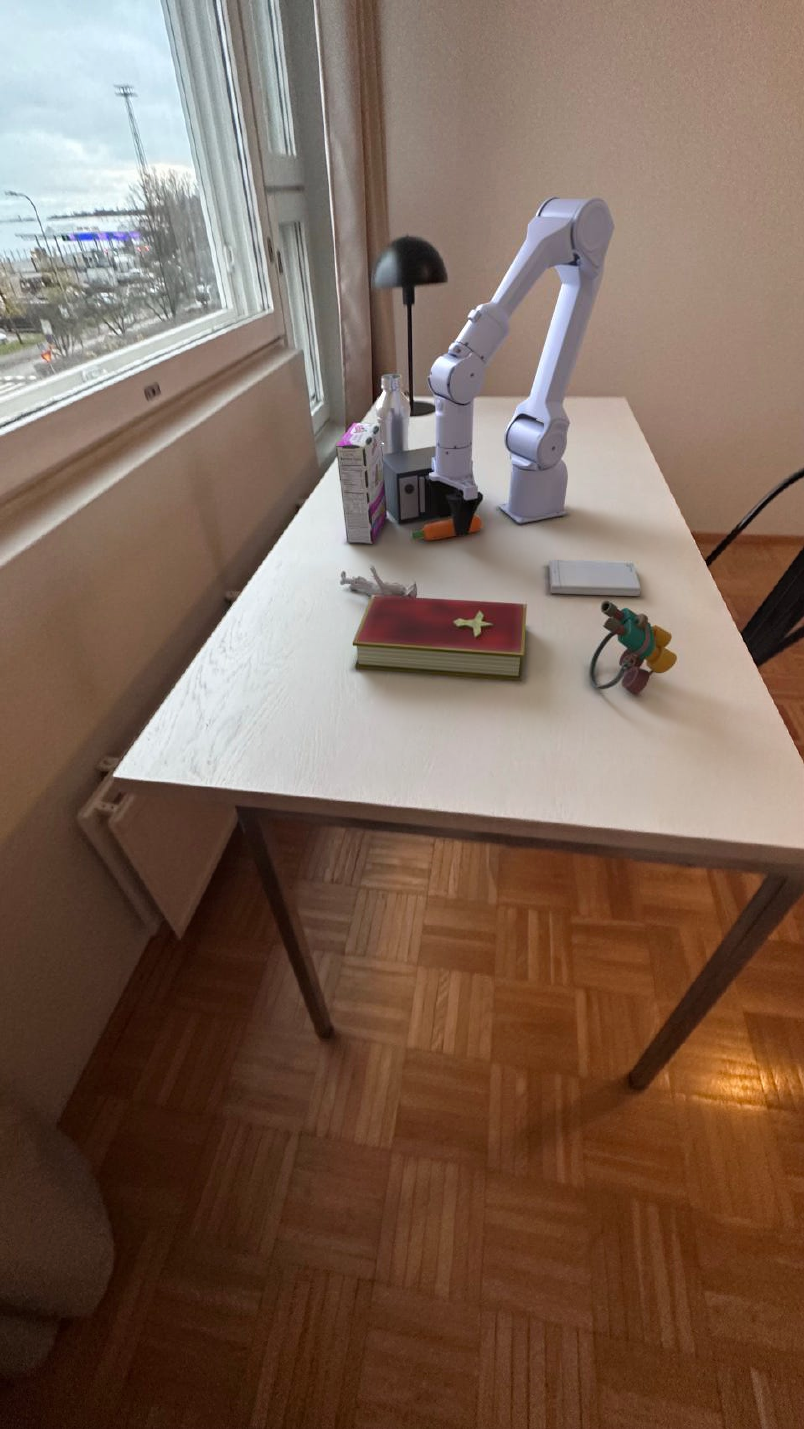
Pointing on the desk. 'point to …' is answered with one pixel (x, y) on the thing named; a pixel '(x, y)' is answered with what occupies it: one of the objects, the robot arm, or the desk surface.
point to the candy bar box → (362, 482)
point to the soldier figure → (379, 586)
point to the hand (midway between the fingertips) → (452, 525)
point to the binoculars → (634, 648)
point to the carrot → (444, 529)
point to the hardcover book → (442, 637)
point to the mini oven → (409, 484)
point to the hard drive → (593, 578)
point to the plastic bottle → (393, 415)
